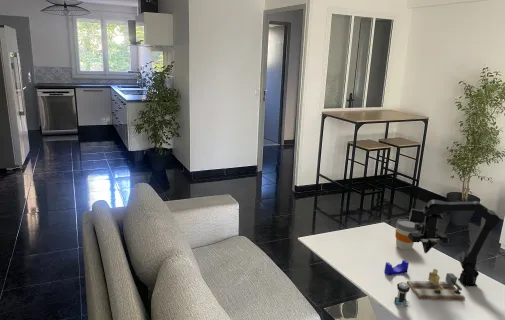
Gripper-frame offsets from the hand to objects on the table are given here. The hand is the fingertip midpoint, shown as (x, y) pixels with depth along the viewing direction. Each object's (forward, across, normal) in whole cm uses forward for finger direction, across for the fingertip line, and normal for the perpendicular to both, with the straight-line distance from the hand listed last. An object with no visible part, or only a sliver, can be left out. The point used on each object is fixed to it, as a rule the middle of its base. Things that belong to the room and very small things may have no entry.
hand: (425, 252), depth 197 cm
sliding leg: (+10, +1, +16) cm, 18 cm away
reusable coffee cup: (+12, -4, -30) cm, 33 cm away
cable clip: (+12, +14, -1) cm, 19 cm away
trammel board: (+12, +1, +16) cm, 20 cm away
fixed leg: (+10, -8, +16) cm, 20 cm away
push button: (+12, +22, +26) cm, 36 cm away
